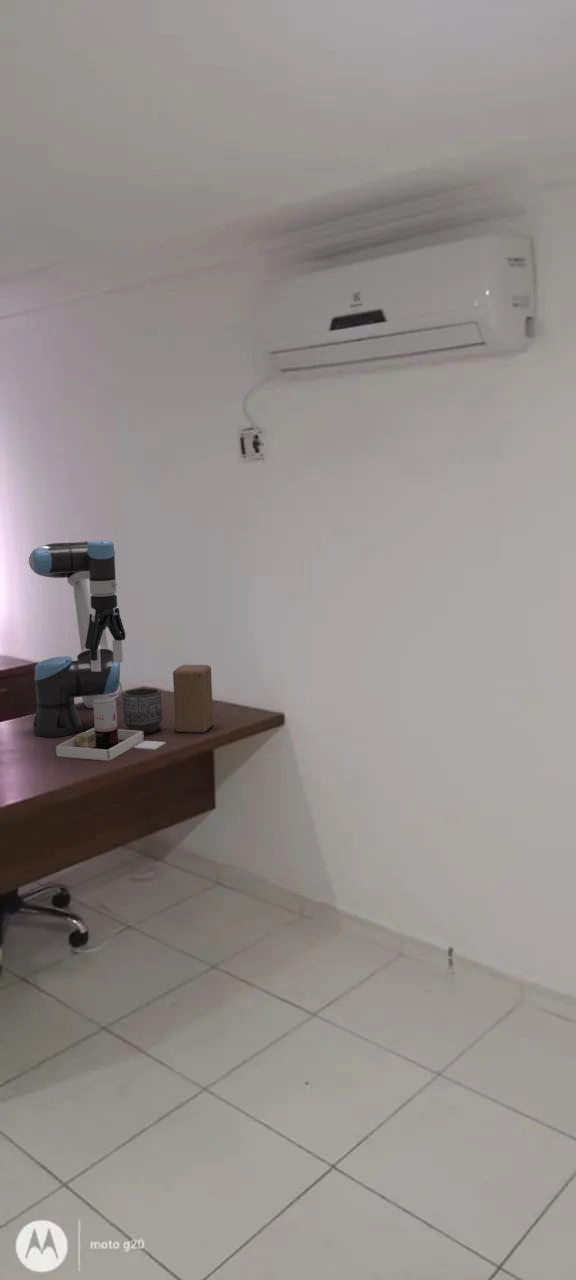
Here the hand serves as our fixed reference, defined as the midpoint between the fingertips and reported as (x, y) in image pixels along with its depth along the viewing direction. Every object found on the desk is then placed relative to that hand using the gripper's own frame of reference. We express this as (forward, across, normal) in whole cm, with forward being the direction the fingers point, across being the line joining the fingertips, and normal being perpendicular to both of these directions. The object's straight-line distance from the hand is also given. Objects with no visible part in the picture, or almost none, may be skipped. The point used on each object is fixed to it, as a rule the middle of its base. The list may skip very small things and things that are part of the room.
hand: (107, 666), depth 271 cm
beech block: (+25, -1, +8) cm, 26 cm away
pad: (+25, +4, -10) cm, 27 cm away
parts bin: (+25, -1, +3) cm, 25 cm away
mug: (+25, +47, +29) cm, 61 cm away
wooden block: (+25, +25, -16) cm, 39 cm away
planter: (+25, +20, -1) cm, 32 cm away
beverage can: (+25, -1, +1) cm, 25 cm away
